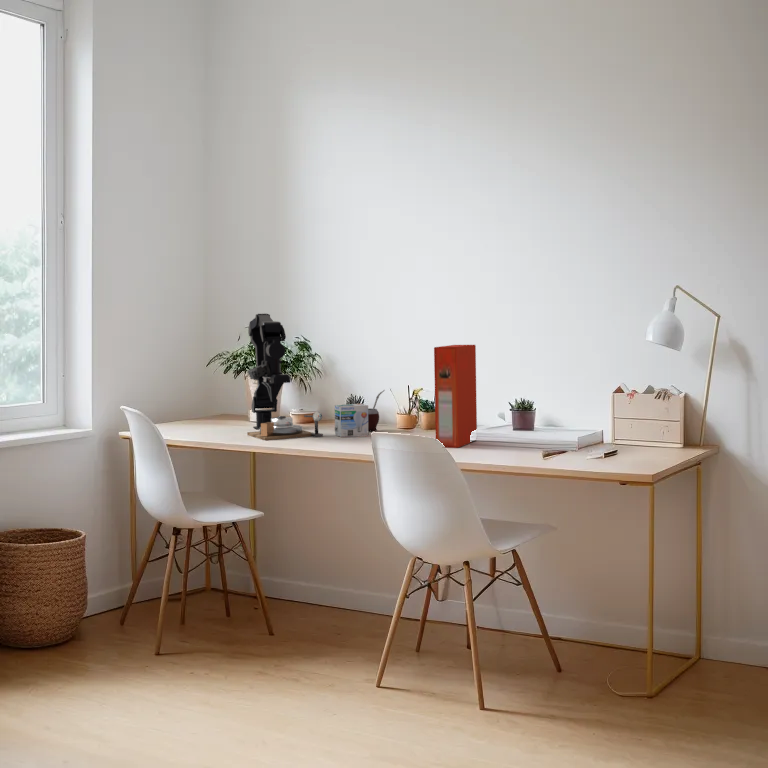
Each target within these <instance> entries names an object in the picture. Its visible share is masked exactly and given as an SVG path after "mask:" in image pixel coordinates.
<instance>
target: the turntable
mask: <svg viewBox="0 0 768 768" xmlns="http://www.w3.org/2000/svg"><path fill="white" fill-rule="evenodd" d="M293 425H294V427H292V428H284V429H275V428H274V422H266V423H261V427H260V429H259V431H260V434H261V436H271V435H290V434H298V433H302V430H303V426H302V425H300V424H293Z"/></svg>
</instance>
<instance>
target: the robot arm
mask: <svg viewBox="0 0 768 768" xmlns="http://www.w3.org/2000/svg"><path fill="white" fill-rule="evenodd" d="M247 332H248V336H249V337H250V339H249V340H250V343H251V344H252V345H253V347H254V348H255V349H254V350H255V363H256V366H255V367H253V368H250V369H248V370H247V372H248V375H249V378H250V380H254V381H257V383H256V384H257V385H256V389H255V390H254V392H253V397H252V402H251V412H252V413H253V414H255V415H256V416H255V417H256V419H255V420H256V426H252V428H253V429H257V430H260V427H261V423H266V422H271V418H273V416H272V414H273V412H274V413H276V412H277V411H278V409H277V408H278V395H279V394H280V390H281V389H282V387H283V385H284V384H286V383H287V384H289V383H291V376H290V375H289V374H286V373H283V372H282V370H281V368H282V367H281V364H283V360H281V359H282V358H284V356H285V354H286V347H285V346H284V345H283V344H282V343H281V342H285V341H286V338H287V337H286V332H285V328H284V325H283V324H282V323H281V321H278V320H277V321H276V320H273V319H272V318H271V314H269V313H257V314H255V317H254V318H253V319H252V320H250V321H249V323H248V330H247Z"/></svg>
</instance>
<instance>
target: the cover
mask: <svg viewBox="0 0 768 768" xmlns="http://www.w3.org/2000/svg"><path fill="white" fill-rule="evenodd" d="M293 421H294V418H293V417H292V416H286V415H278V416H276V417H275V416H274V417H272V418H271V422H274V428H275V429H284V428H292V427H294V425H295V424H294V422H293Z"/></svg>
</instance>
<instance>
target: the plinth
mask: <svg viewBox="0 0 768 768" xmlns="http://www.w3.org/2000/svg"><path fill="white" fill-rule="evenodd" d="M311 433H314V432H312V431H308V430H305V429H302V433H298V434H290V435H271V436H261V434H260V430H259V431H250V432H247V436H249V437H252V438H256V439H258V440H259V439H260V440H263V441H271V440H272V441H273V440H274V441H275V440H284V439H295V438H296V437H298V438H306V437H307V438H309V437H312V436H311ZM296 439H297V438H296Z"/></svg>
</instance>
